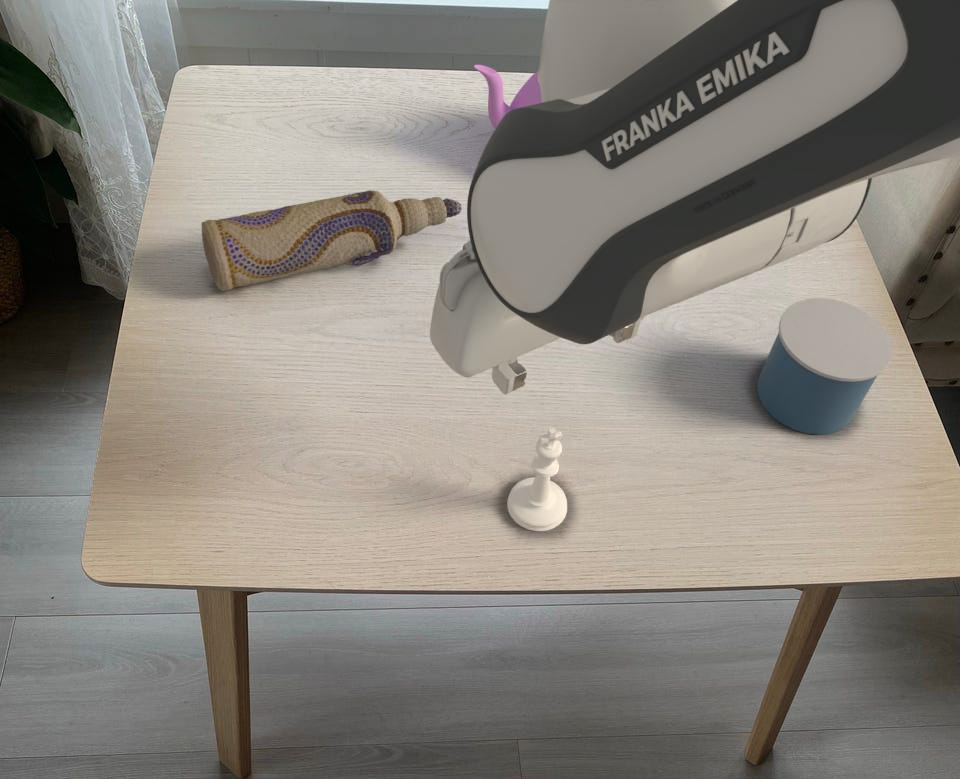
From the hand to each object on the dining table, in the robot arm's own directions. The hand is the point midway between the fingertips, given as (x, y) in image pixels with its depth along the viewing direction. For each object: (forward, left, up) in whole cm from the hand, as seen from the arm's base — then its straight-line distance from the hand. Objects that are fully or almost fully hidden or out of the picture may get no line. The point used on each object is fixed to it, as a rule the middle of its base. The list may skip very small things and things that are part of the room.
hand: (565, 358), depth 64 cm
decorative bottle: (+29, +18, -18) cm, 38 cm away
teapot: (+47, -6, -18) cm, 51 cm away
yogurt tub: (+12, -26, -18) cm, 34 cm away
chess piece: (0, 0, -18) cm, 18 cm away
